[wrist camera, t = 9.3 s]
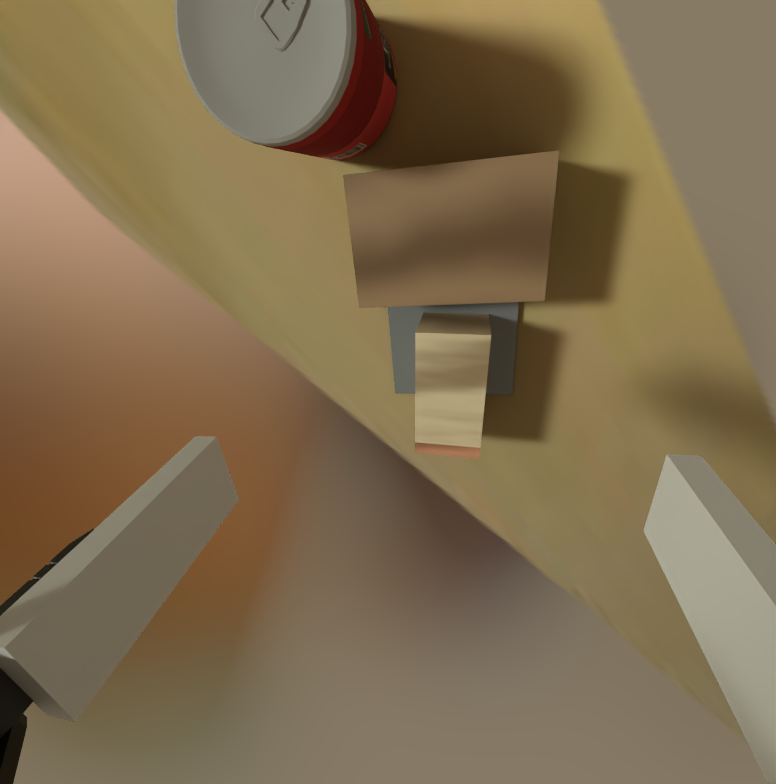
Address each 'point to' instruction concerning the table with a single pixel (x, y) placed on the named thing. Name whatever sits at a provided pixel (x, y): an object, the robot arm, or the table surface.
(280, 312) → the table surface
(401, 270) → the step
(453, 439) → the block
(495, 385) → the mat
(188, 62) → the canned food
